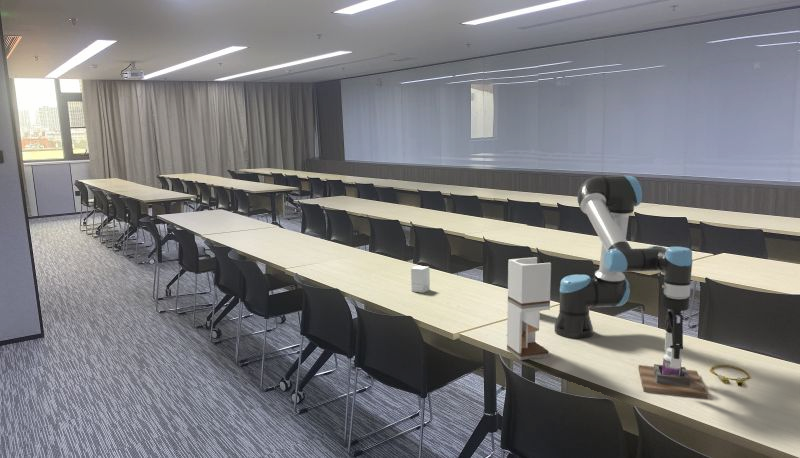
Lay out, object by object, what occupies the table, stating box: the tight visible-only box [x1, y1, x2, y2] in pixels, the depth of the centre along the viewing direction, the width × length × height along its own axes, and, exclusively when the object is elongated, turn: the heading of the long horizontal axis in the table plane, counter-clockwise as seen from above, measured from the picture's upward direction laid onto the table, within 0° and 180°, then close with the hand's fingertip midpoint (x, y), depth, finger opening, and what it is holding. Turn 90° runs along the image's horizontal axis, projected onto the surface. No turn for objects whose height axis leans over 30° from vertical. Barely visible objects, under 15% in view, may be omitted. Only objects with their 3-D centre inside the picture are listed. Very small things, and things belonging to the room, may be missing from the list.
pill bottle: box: [662, 348, 683, 376], centre depth 185 cm, size 5×5×10 cm
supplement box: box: [410, 265, 431, 294], centre depth 300 cm, size 7×7×13 cm
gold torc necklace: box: [709, 364, 750, 387], centre depth 191 cm, size 12×16×2 cm
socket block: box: [638, 363, 708, 399], centre depth 186 cm, size 18×18×4 cm
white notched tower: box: [506, 256, 552, 361], centre depth 210 cm, size 11×11×35 cm
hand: (672, 359), depth 185 cm, fingers open, 13 cm apart
